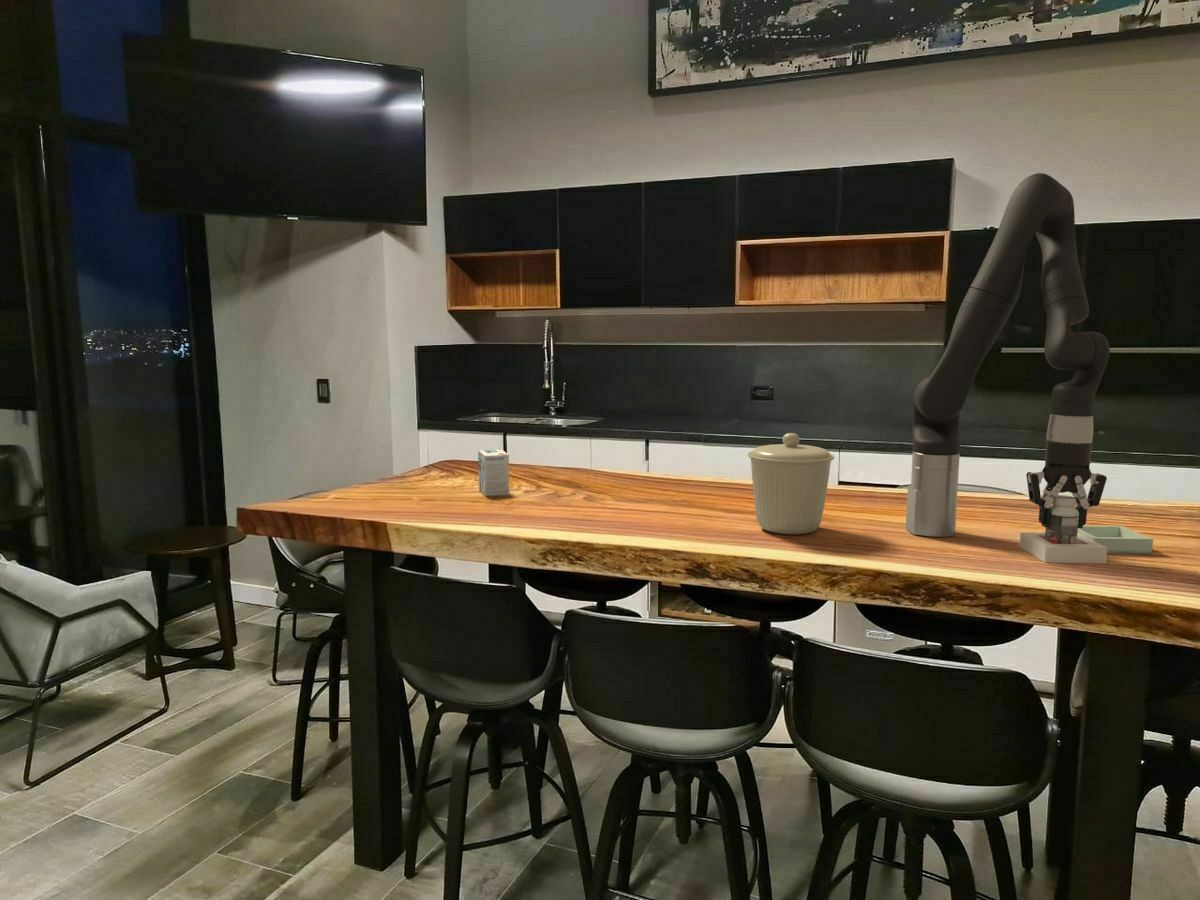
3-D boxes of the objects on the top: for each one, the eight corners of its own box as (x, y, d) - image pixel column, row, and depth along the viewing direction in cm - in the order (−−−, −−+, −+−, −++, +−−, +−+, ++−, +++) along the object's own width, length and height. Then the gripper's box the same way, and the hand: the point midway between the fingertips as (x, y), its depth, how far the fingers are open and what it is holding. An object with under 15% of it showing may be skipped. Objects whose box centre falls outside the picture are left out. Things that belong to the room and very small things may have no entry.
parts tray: (1092, 553, 163) (1093, 538, 163) (1065, 539, 174) (1066, 525, 174) (1151, 554, 163) (1153, 539, 162) (1120, 540, 174) (1122, 525, 173)
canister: (730, 524, 189) (732, 430, 186) (800, 517, 195) (803, 426, 192) (775, 543, 172) (777, 440, 169) (849, 535, 178) (853, 436, 175)
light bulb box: (478, 489, 231) (477, 449, 229) (502, 487, 233) (501, 448, 231) (484, 496, 221) (484, 455, 219) (510, 494, 223) (509, 454, 221)
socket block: (1044, 562, 157) (1045, 546, 157) (1019, 547, 168) (1020, 532, 168) (1106, 563, 157) (1107, 547, 156) (1076, 548, 167) (1078, 533, 167)
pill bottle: (1038, 543, 164) (1042, 494, 163) (1064, 543, 165) (1068, 494, 163) (1055, 550, 159) (1059, 499, 158) (1082, 550, 160) (1087, 499, 158)
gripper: (1038, 440, 156) (1030, 530, 158) (1119, 442, 155) (1111, 532, 157) (1021, 435, 163) (1014, 521, 166) (1099, 437, 162) (1091, 523, 165)
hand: (1061, 526), depth 161 cm, fingers closed on pill bottle, 5 cm apart
